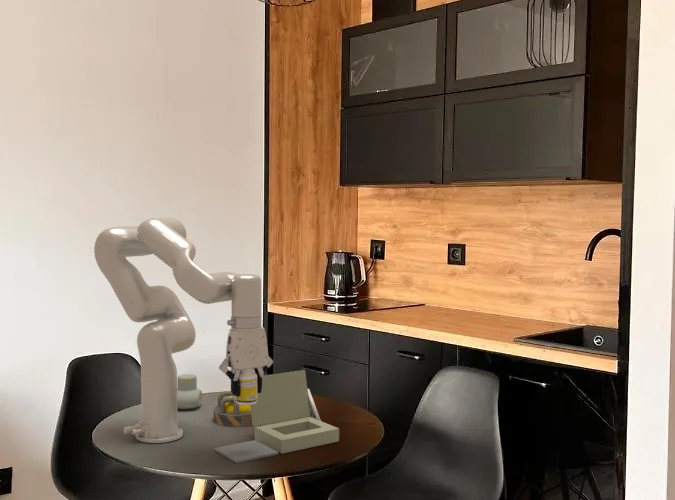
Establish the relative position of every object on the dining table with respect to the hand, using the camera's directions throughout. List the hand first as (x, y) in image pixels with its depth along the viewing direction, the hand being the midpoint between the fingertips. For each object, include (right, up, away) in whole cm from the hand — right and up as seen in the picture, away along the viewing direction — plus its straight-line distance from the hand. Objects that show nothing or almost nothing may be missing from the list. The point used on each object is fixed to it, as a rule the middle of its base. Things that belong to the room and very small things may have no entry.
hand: (246, 393), depth 188 cm
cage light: (+1, -14, +33) cm, 36 cm away
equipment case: (+11, -15, +13) cm, 23 cm away
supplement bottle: (0, -3, 0) cm, 3 cm away
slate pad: (0, -15, +1) cm, 15 cm away
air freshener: (-24, -13, +44) cm, 52 cm away
